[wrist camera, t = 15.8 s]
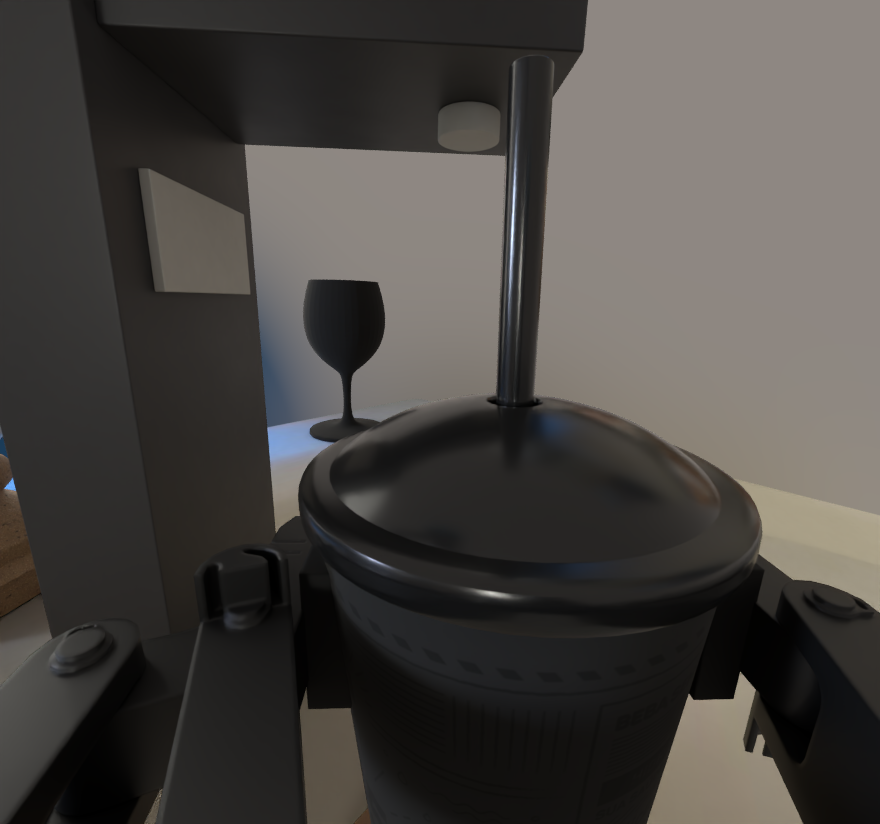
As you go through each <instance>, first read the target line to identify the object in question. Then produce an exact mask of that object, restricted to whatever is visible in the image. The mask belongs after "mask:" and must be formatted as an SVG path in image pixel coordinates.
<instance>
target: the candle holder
mask: <svg viewBox="0 0 880 824" xmlns="http://www.w3.org/2000/svg"><path fill="white" fill-rule="evenodd" d="M1 438H3V435H2V431H1V427H0V439H1ZM12 477H13V476H12V472H11V468H10V464H9V459H8V458H6V457H5V456H4V455H2V454H0V617H2V616H3V615H5V614H7V613H8V612H10V611H12V610H13V609H15V608H17V607H18V606H20V605H22V604H23V603H25V602H27V601H28V600H30V599H31V598H33V597H35V596H36V595H38V594H40V593H41V590H40V586H39V582H38V578H37V574H36V570H35V566H34V562H33V558H32V554H31V549H30V545H29V541H28V537H27V533H26V529H25V525H24V521H23V517H22V513H21V509H20V504H19V500H18V496H17V492H16V491H13V490H7V489H4V488H5V487H6V485H7V484H8V483H9V482H10V481H11V479H12Z"/></svg>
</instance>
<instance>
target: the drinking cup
mask: <svg viewBox="0 0 880 824" xmlns="http://www.w3.org/2000/svg"><path fill="white" fill-rule="evenodd" d="M553 79H554V62H553V61H552V60H551V59H550V58H549V57H546V56H543V55H528V56H524V57H521V58H519V59H517V60H515V61H514V62H513V63H512V64H511V65H510V67H509V77H508V103H507V129H506V154H505V180H504V207H503V232H502V233H503V234H502V257H501V284H500V285H501V286H500V309H499V335H498V336H499V337H498V360H497V386H496V387H497V388H496V393H487V394H474V395H466V396H459V397H453V398H447V399H442V400H438V401H433V402H430V403H427V404H423V405H420V406H417V407H414V408H410V409H408V410H405V411H403V412H401V413H399V414H396V415H394V416H392V417H390V418H388V419H386V420H384V421H382V422H380V423H378V424H377V425H375V426H373V427H371V428H368V429H365V430H362V431H360V432H357V433H354V434H352V435H350V436H347V437H345V438H343V439H341V440H339V441H337V442H335V443H334V444H332V445H330V446H329V447H327V448H326V449H324V450H323V451H321V452H320V453H319V454H318V455H317V456H316V457H315V458H314V459H313V460H312V461H311V462H310V463H309V465H308V466H307V468H306V469H305V471H304V473H303V476H302V478H301V481H300V484H299V492H298V501H299V511H300V517H301V523H302V526H303V528H304V531H305V534H306V535H307V537H308V539H309V541H310V543H311V544H312V545H313V547H314V549H315V550H316V552H317V553H318V554H319V555H320V556H321V557H322V558H323V560H324V561H325V564H326V567H327V570H328V573H329V577H330V583H331V589H332V594H333V600H334V606H335V611H336V617H337V622H338V628H339V634H340V639H341V645H342V651H343V656H344V662H345V668H346V673H347V679H348V684H349V690H350V695H351V702H352V708H351V712H352V718H353V724H354V730H355V735H356V741H357V747H358V752H359V758H360V764H361V770H362V775H363V781H364V787H365V792H366V798H367V804H368V809H369V815H370V821H371V824H647V821H648V817H649V814H650V811H651V808H652V805H653V802H654V799H655V796H656V793H657V790H658V787H659V784H660V780H661V777H662V774H663V771H664V768H665V765H666V762H667V759H668V756H669V753H670V750H671V746H672V743H673V740H674V737H675V734H676V731H677V728H678V725H679V722H680V719H681V716H682V713H683V709H684V706H685V703H686V700H687V697H688V694H689V691H690V688H691V685H692V682H693V679H694V675H695V672H696V669H697V666H698V663H699V660H700V657H701V654H702V651H703V648H704V645H705V642H706V638H707V635H708V632H709V629H710V626H711V623H712V620H713V617H714V614H715V611H716V608H717V606H718V605H720V604H721V603H723V602H724V601H725V600H727V599H728V598H729V597H731V596H732V595H733V594H734V593H735V592H736V591H737V590H738V589H739V588H740V587H741V586H742V585H743V583H744V582H745V581H746V580H747V579H748V577H749V576H750V574H751V572H752V570H753V569H754V567H755V564H756V561H757V557H758V553H759V548H760V544H761V539H762V522H761V519H760V516H759V513H758V510H757V507H756V505H755V503H754V501H753V500H752V498H751V497H750V495H749V494H748V493H747V492H746V491H745V489H744V488H743V487H742V486H741V485H740V484H739V483H738V482H736V481H735V480H734V479H733V478H732V477H731V476H729V475H728V474H726V473H725V472H724V471H722V470H721V469H719V468H718V467H716V466H714V465H713V464H711V463H709V462H708V461H706V460H704V459H702V458H700V457H698V456H696V455H694V454H692V453H690V452H688V451H685V450H683V449H681V448H679V447H677V446H674V445H672V444H670V443H669V442H667V441H665V440H664V439H662V438H661V437H659V436H658V435H656V434H654V433H653V432H651V431H649V430H647V429H645V428H643V427H642V426H639V425H638V424H636V423H634V422H632V421H630V420H628V419H625V418H623V417H620V416H617V415H615V414H613V413H610V412H607V411H605V410H602V409H599V408H596V407H592V406H589V405H585V404H581V403H577V402H573V401H569V400H565V399H560V398H555V397H549V396H542V395H534V389H535V373H536V357H537V340H538V324H539V308H540V291H541V275H542V259H543V242H544V226H545V210H546V194H547V175H548V159H549V145H550V128H551V112H552V111H551V110H552V96H553Z"/></svg>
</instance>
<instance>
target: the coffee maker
mask: <svg viewBox="0 0 880 824" xmlns="http://www.w3.org/2000/svg"><path fill="white" fill-rule="evenodd" d="M587 5H588V0H0V427H1V431H2V435H3V439H4V443H5V447H6V451H7V455H8V459H9V464H10V468H11V472H12V476H13V480H14V484H15V488H16V492H17V496H18V500H19V504H20V509H21V513H22V517H23V521H24V525H25V529H26V533H27V537H28V541H29V545H30V549H31V554H32V558H33V562H34V566H35V570H36V574H37V578H38V582H39V586H40V590H41V594H42V599H43V603H44V607H45V611H46V615H47V619H48V623H49V627H50V631H51V635H52V639H53V638H55V637H57V636H59V635H60V634H62V633H64V632H66V631H68V630H70V629H72V628H74V627H77V626H79V625H83V624H85V623H89V622H92V621H97V620H103V619H108V618H121V619H129V620H131V621H132V622H134V623H136V624H137V625H138V627H139V632H140V636H141V641H143V640H147V639H152V638H156V637H160V636H164V635H169V634H173V633H177V632H181V631H184V630H188V629H191V628H194V627H197V626H199V625H200V619H199V612H198V605H197V598H196V591H195V584H194V577H193V575H194V574H195V572H196V570H197V569H198V567H199V566H200V565H201V564H202V563H203V562H205V561H206V560H207V559H208V558H210V557H211V556H213V555H215V554H217V553H219V552H221V551H224V550H226V549H228V548H232V547H236V546H240V545H244V544H256V543H263V544H270V543H272V539H273V538H274V536H275V535H276V531H275V519H274V506H273V494H272V481H271V469H270V456H269V444H268V431H267V419H266V407H265V395H264V383H263V369H262V357H261V344H260V332H259V319H258V307H257V294H256V283H255V270H254V257H253V244H252V232H251V219H250V207H249V195H248V182H247V170H246V157H245V144H246V145H270V146H292V147H315V148H339V149H340V148H341V149H363V150H385V151H408V152H430V153H454V154H455V153H456V154H477V155H500V156H501V155H502V156H505V154H506V129H507V103H508V77H509V67H510V65H511V64H512V63H513V62H514V61H515V60H517V59H519V58H521V57H524V56H528V55H543V56H546V57H549V58H550V59H551V60H552V61H553V62H554V79H553V96H554V95H555V93H556V92H557V90H558V89H559V87H560V86H561V84H562V83H563V81H564V80H565V78H566V76H567V75H568V73H569V72H570V70H571V69H572V67H573V66H574V64H575V63H576V61H577V60H578V58H579V57H580V55H581V54H582V52H583V48H584V37H585V27H586V15H587ZM553 96H552V98H553Z"/></svg>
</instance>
